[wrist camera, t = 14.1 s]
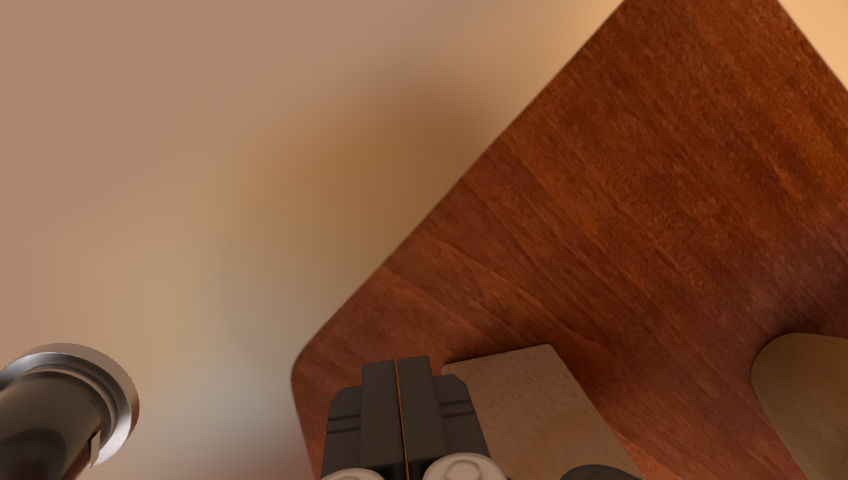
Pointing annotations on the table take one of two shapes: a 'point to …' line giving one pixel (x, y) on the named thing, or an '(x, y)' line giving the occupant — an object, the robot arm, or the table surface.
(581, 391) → the wooden block
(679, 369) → the table surface
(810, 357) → the plant pot
